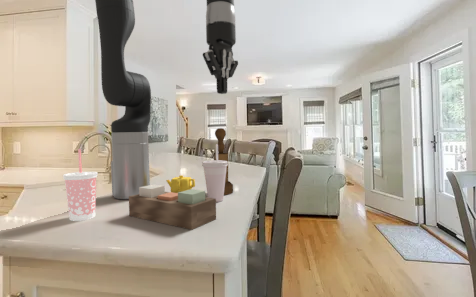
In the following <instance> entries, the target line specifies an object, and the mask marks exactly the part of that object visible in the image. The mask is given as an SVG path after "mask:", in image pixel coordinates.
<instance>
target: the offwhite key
mask: <svg viewBox="0 0 476 297" xmlns="http://www.w3.org/2000/svg"><path fill="white" fill-rule="evenodd" d="M165 192H166V191H165V185H159V184H150V185H148V186H143V187H139V196H143V197H149V198H152V197H156V196H158V195H162V194H165Z"/></svg>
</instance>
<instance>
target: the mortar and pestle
mask: <svg viewBox="0 0 476 297" xmlns="http://www.w3.org/2000/svg"><path fill="white" fill-rule="evenodd" d="M214 136H215V137H216V140H217V144H218V160H223V161H228V162H229V153H228V152H224V151H225V148H226V147H225V146H226V144H225V143H224V139H225V137H226V136H227V132H226V130H225V129H224V128H222V127H220V128H217V129H215V131H214ZM213 160H216V152H214V153H213ZM233 193H234V184H233V183H231V181H230V180H229V165H228V166H227V167H226V177H225V187H224V196H226V195H231V194H233Z"/></svg>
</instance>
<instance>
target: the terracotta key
mask: <svg viewBox="0 0 476 297" xmlns="http://www.w3.org/2000/svg"><path fill="white" fill-rule="evenodd" d="M169 192H170V193H166V194H162V195H158V199H161V200H168V201H172V200H176V199H178V193H173V192H171V191H169Z"/></svg>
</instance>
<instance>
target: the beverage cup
mask: <svg viewBox="0 0 476 297" xmlns="http://www.w3.org/2000/svg"><path fill="white" fill-rule="evenodd" d="M77 151H78V154H77V155H78V171H77V172H69V173H64V174H63V175H62V177H63V178H62V179H63V180H64V184H65V192H66V200H67V208H68V210H67V211H68V216H69V220H70V221H72V222H73V221H74V222H80V221H81V222H82V221H87V220H90V219H93V218H95V217H96V207H97V206H96V199H97V198H96V197H97V195H96V194H97V177H98V174H99V173H98V171H83V169H82V168H83V167H82V166H83V165H82V149H81V148H78V150H77Z"/></svg>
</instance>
